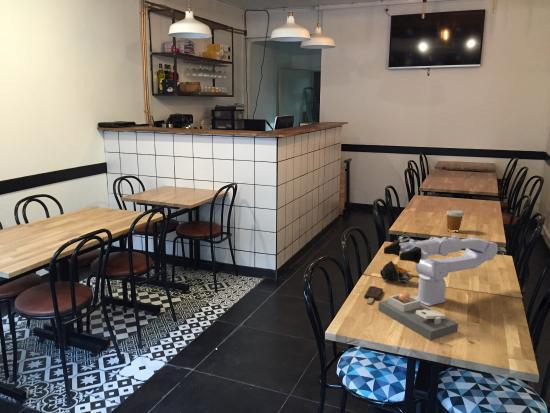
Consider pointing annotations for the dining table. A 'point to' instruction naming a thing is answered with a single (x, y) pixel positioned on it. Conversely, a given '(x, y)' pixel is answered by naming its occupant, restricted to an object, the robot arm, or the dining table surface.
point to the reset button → (404, 297)
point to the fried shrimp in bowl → (396, 273)
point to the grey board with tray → (417, 318)
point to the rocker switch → (430, 314)
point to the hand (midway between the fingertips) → (392, 253)
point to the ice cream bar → (373, 294)
